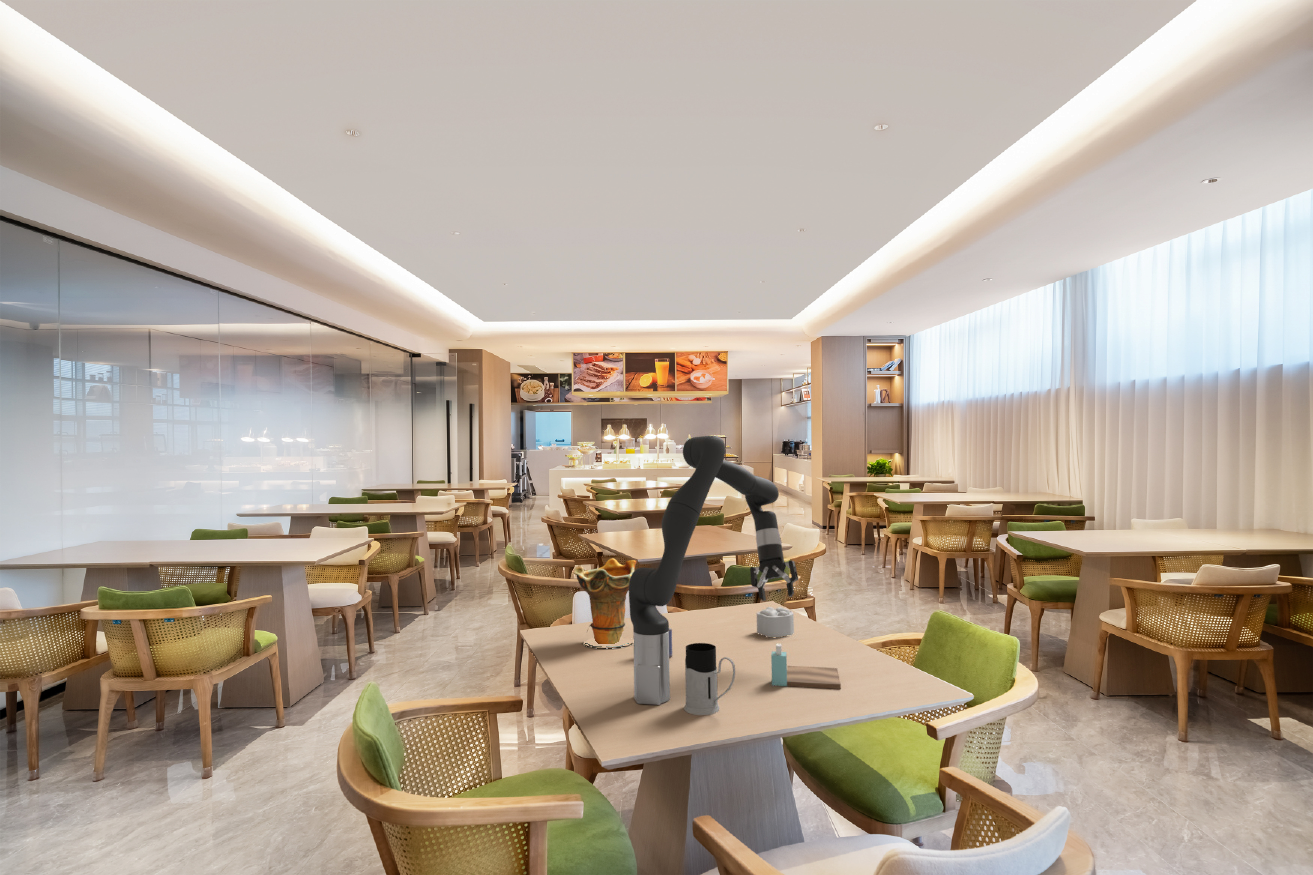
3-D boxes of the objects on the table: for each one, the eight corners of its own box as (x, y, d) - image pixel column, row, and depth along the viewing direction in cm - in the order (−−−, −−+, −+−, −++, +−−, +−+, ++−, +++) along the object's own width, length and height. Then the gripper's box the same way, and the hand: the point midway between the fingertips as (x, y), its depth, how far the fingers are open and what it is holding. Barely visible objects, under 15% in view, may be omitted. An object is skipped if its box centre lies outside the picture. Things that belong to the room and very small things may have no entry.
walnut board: (840, 688, 174) (840, 684, 174) (787, 685, 177) (786, 681, 177) (837, 672, 188) (837, 667, 188) (787, 669, 191) (787, 665, 191)
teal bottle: (786, 686, 177) (786, 647, 177) (771, 685, 178) (771, 646, 178) (787, 681, 181) (786, 643, 181) (772, 680, 182) (771, 642, 182)
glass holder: (697, 699, 168) (696, 640, 169) (745, 712, 159) (744, 649, 160) (676, 709, 161) (675, 648, 162) (725, 723, 152) (724, 658, 153)
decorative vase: (561, 646, 217) (563, 561, 220) (599, 633, 238) (600, 555, 240) (615, 654, 208) (616, 565, 210) (649, 640, 228) (650, 559, 230)
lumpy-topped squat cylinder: (753, 632, 233) (752, 608, 234) (782, 627, 239) (781, 603, 240) (771, 639, 224) (770, 613, 224) (801, 634, 230) (800, 609, 230)
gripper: (743, 547, 203) (750, 600, 197) (786, 539, 197) (795, 594, 191) (752, 550, 209) (759, 602, 204) (795, 542, 203) (803, 596, 197)
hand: (777, 598), depth 197 cm, fingers open, 8 cm apart
